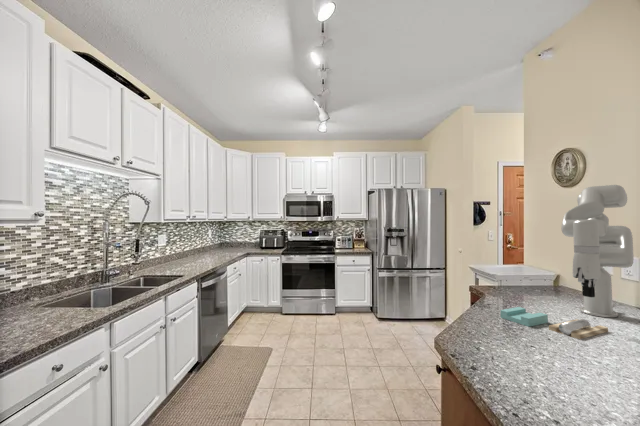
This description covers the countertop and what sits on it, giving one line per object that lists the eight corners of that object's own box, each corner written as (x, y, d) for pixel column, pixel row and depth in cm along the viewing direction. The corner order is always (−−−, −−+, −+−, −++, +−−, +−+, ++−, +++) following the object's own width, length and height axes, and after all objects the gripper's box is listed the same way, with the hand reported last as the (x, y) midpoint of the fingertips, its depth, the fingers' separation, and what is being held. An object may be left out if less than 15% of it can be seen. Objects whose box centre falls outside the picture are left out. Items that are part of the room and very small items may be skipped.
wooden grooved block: (576, 324, 117) (576, 319, 117) (608, 333, 108) (608, 327, 108) (548, 331, 111) (548, 325, 111) (579, 341, 102) (579, 334, 102)
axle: (576, 326, 112) (579, 317, 112) (588, 332, 109) (591, 323, 108) (557, 330, 108) (560, 321, 107) (569, 337, 105) (572, 327, 104)
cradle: (519, 315, 130) (518, 306, 130) (548, 324, 119) (547, 314, 119) (500, 319, 126) (500, 310, 126) (528, 328, 114) (528, 318, 115)
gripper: (586, 249, 119) (588, 292, 118) (563, 250, 114) (565, 296, 113) (609, 250, 112) (611, 297, 111) (586, 251, 107) (589, 300, 106)
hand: (588, 296), depth 112 cm, fingers closed
